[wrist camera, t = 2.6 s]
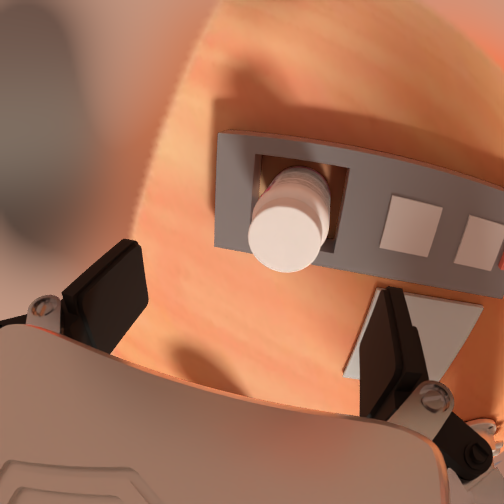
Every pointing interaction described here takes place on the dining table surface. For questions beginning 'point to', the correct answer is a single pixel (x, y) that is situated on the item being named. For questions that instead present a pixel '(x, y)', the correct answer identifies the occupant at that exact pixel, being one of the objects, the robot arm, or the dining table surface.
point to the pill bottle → (291, 220)
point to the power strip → (377, 213)
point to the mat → (429, 331)
